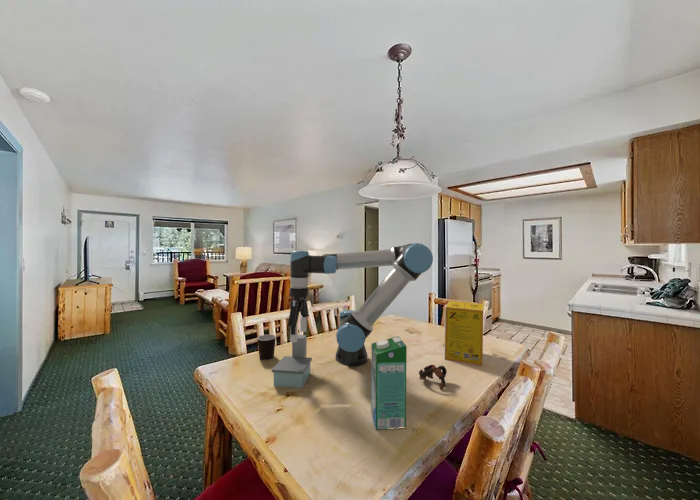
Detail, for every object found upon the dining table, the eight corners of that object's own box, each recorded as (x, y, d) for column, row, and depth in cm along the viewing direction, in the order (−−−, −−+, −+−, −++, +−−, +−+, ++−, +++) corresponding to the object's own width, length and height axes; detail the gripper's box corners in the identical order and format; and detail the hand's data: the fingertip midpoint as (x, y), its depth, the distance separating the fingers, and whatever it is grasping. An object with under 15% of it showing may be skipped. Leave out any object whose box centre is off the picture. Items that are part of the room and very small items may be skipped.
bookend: (314, 356, 123) (314, 335, 123) (302, 374, 106) (302, 350, 106) (287, 354, 125) (287, 334, 124) (271, 372, 108) (271, 348, 107)
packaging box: (448, 348, 150) (449, 300, 149) (482, 353, 143) (483, 303, 143) (444, 359, 135) (445, 307, 135) (482, 365, 129) (483, 310, 128)
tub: (310, 374, 119) (310, 360, 119) (301, 389, 107) (301, 373, 107) (284, 373, 120) (284, 358, 120) (273, 387, 108) (273, 371, 108)
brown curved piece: (438, 395, 105) (427, 373, 106) (422, 395, 112) (411, 375, 114) (457, 378, 111) (446, 358, 113) (440, 379, 119) (430, 360, 121)
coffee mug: (270, 362, 130) (270, 341, 130) (253, 361, 132) (253, 339, 132) (281, 353, 142) (281, 333, 141) (265, 351, 143) (265, 332, 143)
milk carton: (370, 412, 93) (371, 336, 92) (398, 410, 94) (398, 335, 93) (375, 430, 84) (376, 346, 83) (405, 428, 85) (406, 345, 84)
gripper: (299, 282, 134) (299, 327, 134) (279, 291, 109) (279, 346, 110) (315, 283, 133) (314, 328, 133) (298, 292, 108) (298, 347, 109)
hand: (298, 336), depth 122 cm, fingers open, 13 cm apart
